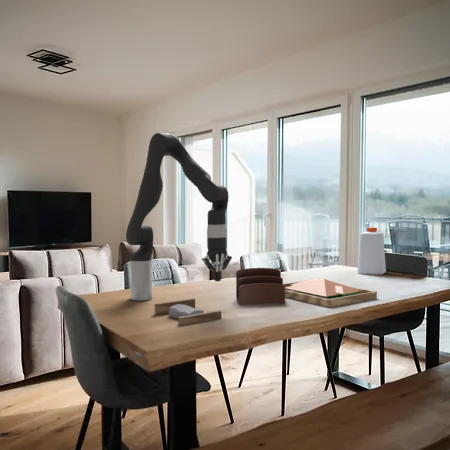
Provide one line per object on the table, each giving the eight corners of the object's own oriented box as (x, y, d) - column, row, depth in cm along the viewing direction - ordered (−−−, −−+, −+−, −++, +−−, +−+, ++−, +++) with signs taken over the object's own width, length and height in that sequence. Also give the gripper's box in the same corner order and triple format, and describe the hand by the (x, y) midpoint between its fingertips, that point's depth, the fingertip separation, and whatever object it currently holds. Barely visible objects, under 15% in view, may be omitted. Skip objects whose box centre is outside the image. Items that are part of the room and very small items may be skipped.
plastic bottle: (381, 275, 261) (381, 228, 260) (355, 273, 269) (355, 227, 268) (387, 272, 274) (387, 227, 273) (362, 270, 282) (362, 227, 281)
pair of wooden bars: (154, 314, 168) (154, 303, 168) (193, 308, 177) (193, 298, 177) (180, 325, 151) (180, 313, 151) (221, 318, 161) (221, 307, 161)
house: (331, 305, 183) (331, 285, 183) (277, 293, 210) (277, 276, 210) (366, 298, 197) (366, 280, 196) (311, 288, 224) (311, 272, 223)
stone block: (186, 316, 172) (166, 316, 165) (188, 304, 172) (168, 303, 165) (206, 323, 163) (186, 322, 156) (209, 310, 164) (188, 309, 157)
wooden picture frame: (265, 292, 210) (265, 286, 210) (310, 285, 228) (310, 280, 228) (329, 307, 177) (329, 299, 177) (376, 298, 195) (376, 291, 195)
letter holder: (236, 299, 195) (235, 267, 194) (280, 298, 196) (280, 267, 196) (238, 304, 185) (238, 271, 184) (285, 303, 186) (285, 270, 186)
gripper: (225, 235, 178) (226, 278, 178) (197, 236, 170) (197, 281, 171) (236, 236, 172) (236, 280, 172) (207, 237, 164) (208, 284, 165)
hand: (217, 281), depth 171 cm, fingers closed
